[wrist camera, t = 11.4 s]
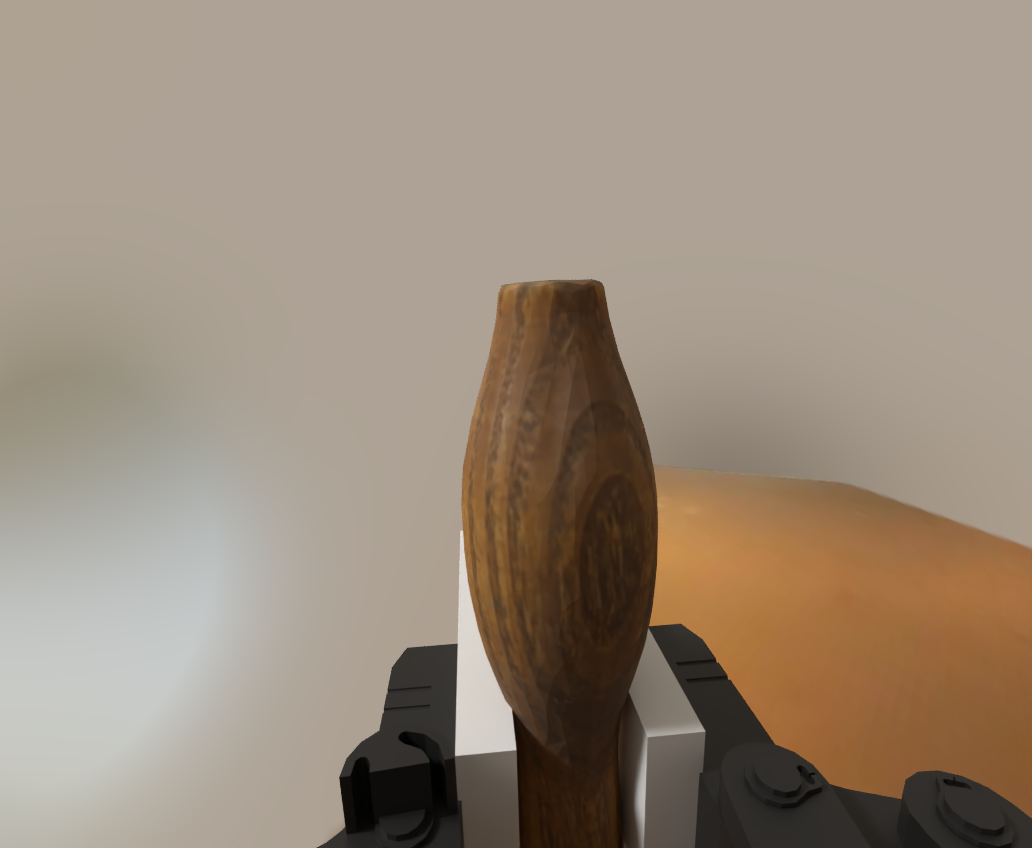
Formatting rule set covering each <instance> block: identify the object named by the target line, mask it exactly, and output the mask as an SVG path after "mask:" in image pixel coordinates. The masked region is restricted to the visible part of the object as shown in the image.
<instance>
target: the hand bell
mask: <svg viewBox="0 0 1032 848" xmlns="http://www.w3.org/2000/svg"><path fill="white" fill-rule="evenodd" d="M462 519H463V536H464V553H465V561H466V569H467V578H468V584H469V590H470V595H471V600H472V604H473V609H474V613H475V617H476V622H477V626H478V630H479V633H480V637H481V640H482V643H483V646H484V650H485V653H486V656H487V658H488V661H489V663H490V666H491V668H492V671H493V673H494V675H495V678H496V680H497V683H498V685H499V687H500V690H501V692H502V694H503V696H504V699H505V701H506V702H507V703H508V705H509V706H510V707H511V708H512V715H513V724H514V733H515V742H516V752H517V782H518V812H519V841H520V848H626V846H625V842H624V839H623V835H622V833H623V824H622V810H621V795H620V779H619V760H618V743H619V729H620V723H621V716H622V711H623V707H624V703H625V700H626V698H627V695H628V692H629V689H630V687H631V684H632V681H633V679H634V676H635V673H636V670H637V667H638V664H639V661H640V658H641V655H642V652H643V649H644V646H645V642H646V638H647V633H648V628H649V623H650V618H651V612H652V606H653V597H654V589H655V579H656V568H657V541H658V510H657V492H656V483H655V474H654V468H653V463H652V458H651V453H650V448H649V445H648V440H647V436H646V432H645V428H644V424H643V422H642V418H641V415H640V412H639V409H638V406H637V403H636V400H635V397H634V394H633V392H632V389H631V386H630V383H629V381H628V378H627V375H626V372H625V369H624V367H623V364H622V361H621V358H620V356H619V352H618V349H617V345H616V342H615V338H614V334H613V330H612V327H611V322H610V319H609V313H608V308H607V302H606V297H605V290H604V286H603V284H602V283H601V282H599V281H596V280H592V279H591V280H548V281H535V282H523V283H514V284H507V285H502V286H501V288H500V291H499V293H498V305H497V316H496V323H495V328H494V333H493V338H492V343H491V348H490V353H489V358H488V361H487V365H486V369H485V372H484V376H483V379H482V383H481V387H480V390H479V394H478V398H477V402H476V405H475V409H474V413H473V416H472V421H471V426H470V433H469V438H468V443H467V448H466V455H465V460H464V465H463V479H462Z"/></svg>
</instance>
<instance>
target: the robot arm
mask: <svg viewBox="0 0 1032 848" xmlns="http://www.w3.org/2000/svg"><path fill="white" fill-rule="evenodd" d="M460 532H461V533H460V574H459V614H458V644H449V645H437V646H424V647H412V648H407V649H406V650H405V651H404V653H403V654H402V655H401V657H400V658H399V659H398V660H397V662H396V663H395V664H394V666H393V667H392V671H391V676H390V680H389V685H388V694H387V695H386V700H385V705H384V713H383V715H382V720H381V725H380V731H378V732H377V733H375V734H373V735H372V736H370V737H369V738H367V739H365V740H364V741H362V742H361V743H360V744H359V745H358V746H357V747H356V749H355V750H354V751H353V752H352V753H351V754H350V755H349V757H348V758H347V759H346V762H345V764H344V767H343V769H342V772H341V774H340V777H339V779H340V787H341V795H342V802H343V811H344V818H345V826H346V827H345V828H344V829H343V830H342V831H341V832H339V833H338V834H337V835H336V836H334V837H333V838H332V839H330V840H329V841H328V842H327V843H325V844H323V845H321V846H319V847H317V848H520V841H519V812H518V782H517V752H516V742H515V733H514V724H513V715H512V708H511V707H510V706H509V705H508V703H507V702H506V701H505V699H504V696H503V694H502V692H501V690H500V687H499V685H498V683H497V680H496V678H495V675H494V673H493V671H492V668H491V666H490V663H489V661H488V658H487V656H486V653H485V650H484V646H483V643H482V640H481V637H480V633H479V630H478V626H477V622H476V617H475V613H474V609H473V604H472V600H471V595H470V590H469V584H468V578H467V569H466V561H465V553H464V536H463V531H460ZM618 760H619V779H620V795H621V810H622V824H623V833H622V835H623V839H624V842H625V846H626V848H1032V819H1031V818H1030V817H1029V816H1027V815H1026V814H1025V813H1024V812H1022V811H1021V810H1020V809H1019V808H1017V807H1016V806H1015V805H1014V804H1012V803H1011V802H1009V801H1007V800H1006V799H1004V798H1003V797H1001V796H1000V795H998V794H997V793H995V792H994V791H992V790H991V789H989V788H988V787H985V786H983V785H981V784H979V783H976V782H974V781H972V780H970V779H967V778H965V777H963V776H959V775H955V774H950V773H946V772H942V771H923V772H917V773H915V774H914V775H912V776H911V777H909V778H908V779H906V781H905V786H904V790H903V795H902V799H897V798H892V797H886V796H881V795H876V794H870V793H865V792H859V791H854V790H849V789H845V788H841V787H838V786H834V785H831V784H829V783H828V781H827V780H826V779H825V778H824V777H823V776H822V775H821V773H820V772H819V771H818V770H817V769H816V768H815V767H814V765H812V764H811V763H809V762H808V761H806V760H805V759H804V758H802V757H801V756H799V755H798V754H796V753H795V752H793V751H790V750H788V749H785V748H783V747H780V746H777V745H775V744H774V742H773V741H772V739H771V738H770V736H769V735H768V734H767V732H766V731H765V729H764V728H763V726H762V725H761V723H760V722H759V721H758V719H757V718H756V716H755V715H754V713H753V712H752V710H751V709H750V707H749V706H748V705H747V703H746V702H745V700H744V699H743V697H742V696H741V694H740V693H739V692H738V690H737V689H736V687H735V686H734V684H733V683H732V681H731V680H728V677H727V674H726V673H725V671H724V670H723V668H722V667H721V665H720V664H719V663H717V662H716V658H715V657H714V655H713V654H712V652H711V651H710V650H709V648H708V647H707V645H706V644H705V642H704V641H703V639H701V638H700V637H698V636H697V635H696V634H694V633H693V632H691V631H690V630H689V629H687V628H686V627H685V626H683V625H682V624H673V625H660V626H649V628H648V633H647V638H646V642H645V646H644V649H643V652H642V655H641V658H640V661H639V664H638V667H637V670H636V673H635V676H634V679H633V681H632V684H631V687H630V689H629V692H628V695H627V698H626V700H625V703H624V707H623V711H622V716H621V723H620V729H619V743H618Z"/></svg>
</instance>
